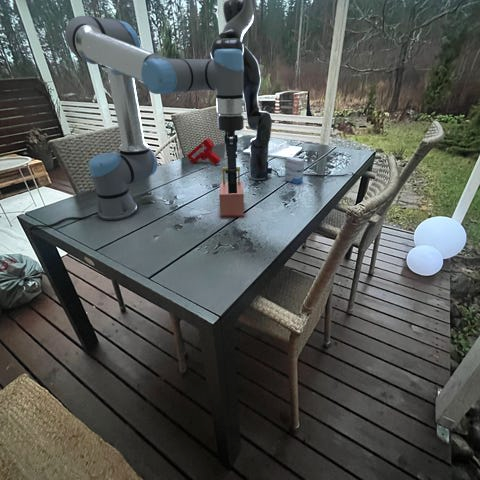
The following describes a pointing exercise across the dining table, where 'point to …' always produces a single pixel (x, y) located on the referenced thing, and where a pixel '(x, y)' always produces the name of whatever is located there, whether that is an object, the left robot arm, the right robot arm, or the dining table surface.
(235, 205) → the chest
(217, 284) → the dining table surface
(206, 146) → the toy gun
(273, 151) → the relief map
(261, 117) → the right robot arm
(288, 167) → the ink box
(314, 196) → the dining table surface
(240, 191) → the block with yellow handle
